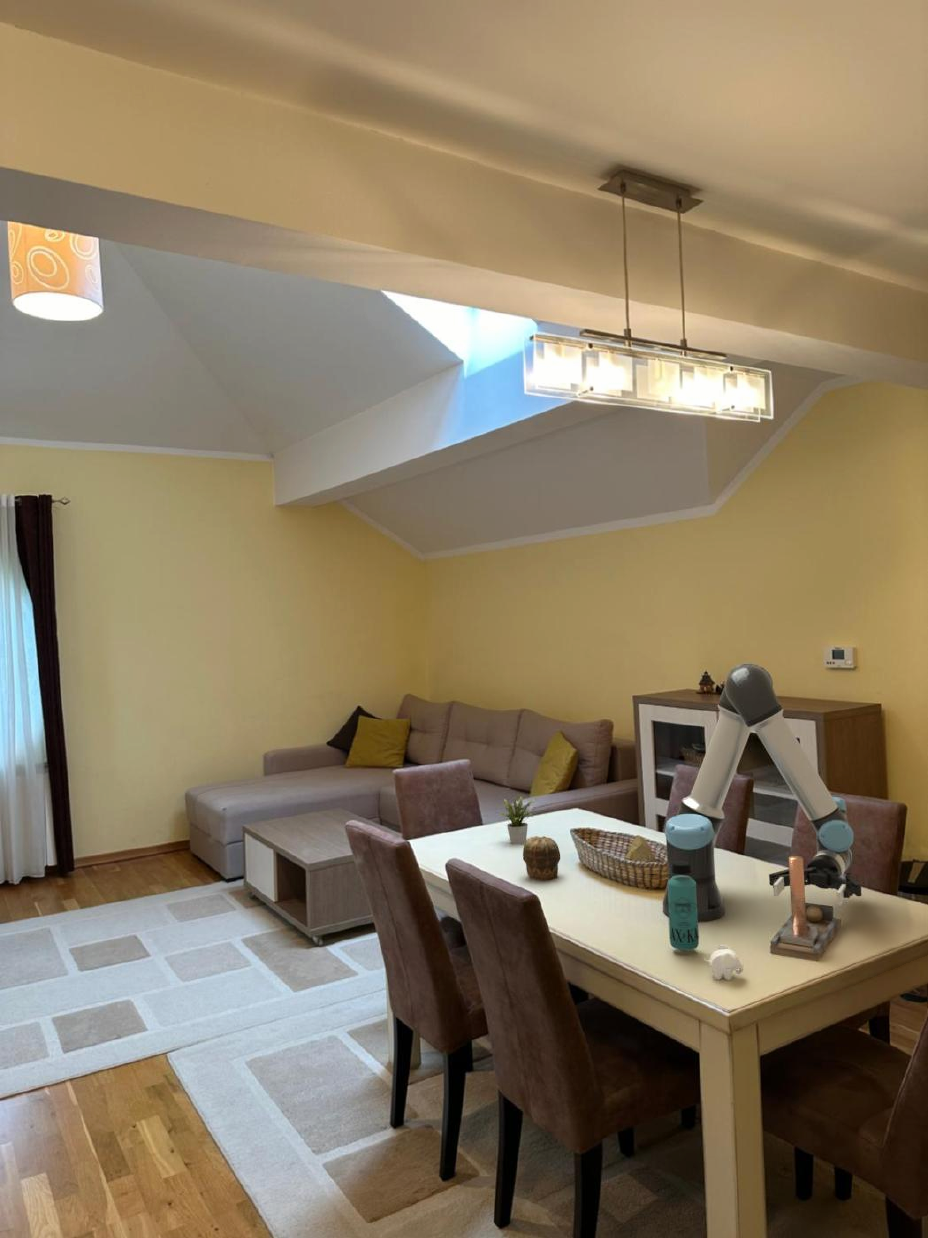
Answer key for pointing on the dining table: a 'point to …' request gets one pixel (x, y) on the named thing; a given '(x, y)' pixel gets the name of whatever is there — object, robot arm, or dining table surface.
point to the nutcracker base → (826, 927)
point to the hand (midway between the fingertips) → (806, 894)
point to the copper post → (799, 909)
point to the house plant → (517, 821)
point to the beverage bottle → (682, 908)
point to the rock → (640, 850)
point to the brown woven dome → (541, 858)
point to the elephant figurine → (724, 963)
